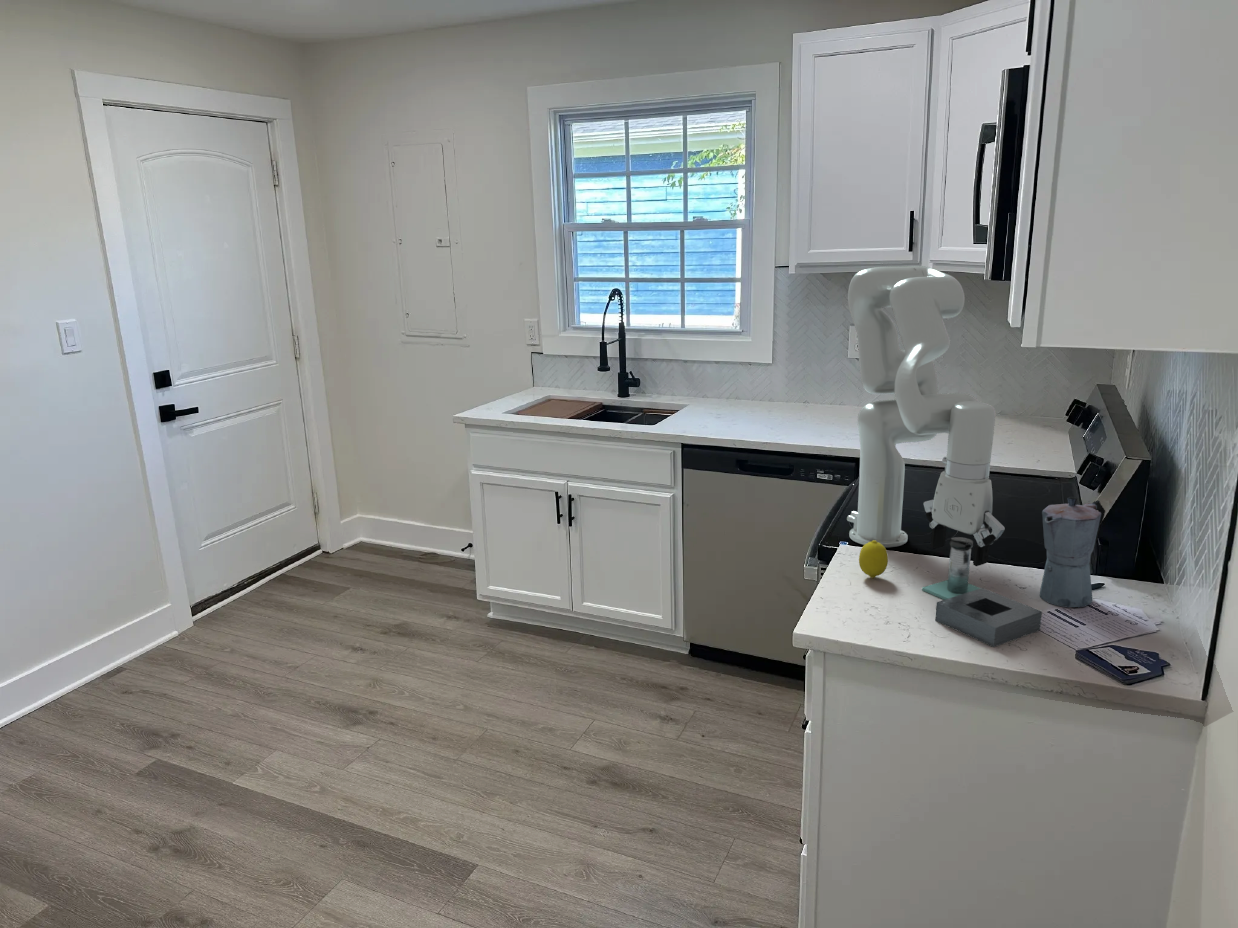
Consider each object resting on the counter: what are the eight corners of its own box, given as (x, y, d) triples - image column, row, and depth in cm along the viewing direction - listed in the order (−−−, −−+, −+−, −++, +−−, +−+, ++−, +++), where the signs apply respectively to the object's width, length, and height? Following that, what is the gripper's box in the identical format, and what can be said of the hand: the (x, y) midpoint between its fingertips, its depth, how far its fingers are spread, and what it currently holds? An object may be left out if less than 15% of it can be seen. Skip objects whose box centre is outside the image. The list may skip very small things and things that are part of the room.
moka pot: (1016, 598, 158) (1026, 496, 153) (1067, 581, 165) (1078, 483, 160) (1063, 616, 150) (1076, 509, 145) (1115, 597, 157) (1129, 495, 152)
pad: (922, 590, 162) (922, 587, 162) (954, 580, 167) (954, 577, 166) (960, 606, 155) (961, 603, 155) (993, 596, 159) (993, 593, 159)
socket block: (935, 620, 149) (936, 602, 149) (980, 605, 155) (982, 587, 154) (993, 647, 139) (995, 627, 138) (1040, 630, 145) (1042, 611, 144)
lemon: (881, 572, 172) (883, 535, 169) (890, 582, 166) (893, 544, 164) (854, 573, 171) (856, 536, 169) (862, 583, 166) (865, 545, 164)
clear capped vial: (941, 588, 161) (945, 539, 159) (955, 584, 163) (959, 535, 161) (958, 596, 158) (963, 545, 155) (973, 591, 160) (977, 541, 157)
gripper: (915, 461, 160) (908, 544, 165) (994, 484, 146) (983, 575, 150) (943, 455, 164) (935, 537, 168) (1022, 477, 149) (1011, 567, 154)
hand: (958, 555), depth 159 cm, fingers open, 9 cm apart
